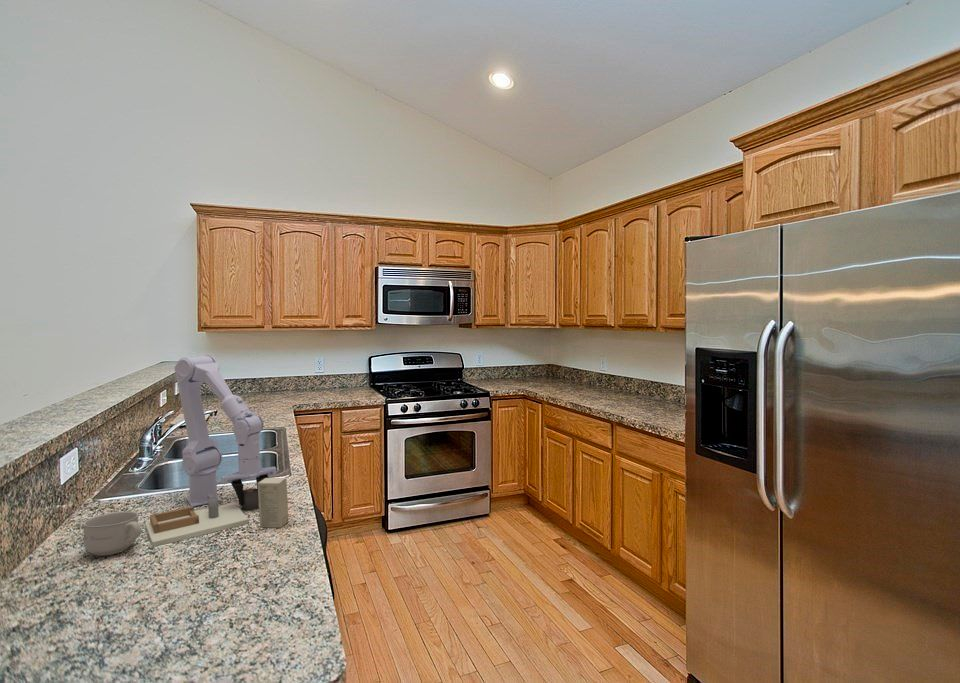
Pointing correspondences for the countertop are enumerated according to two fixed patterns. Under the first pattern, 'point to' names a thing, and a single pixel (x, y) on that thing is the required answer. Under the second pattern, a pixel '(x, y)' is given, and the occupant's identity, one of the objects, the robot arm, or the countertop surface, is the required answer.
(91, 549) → the teacup
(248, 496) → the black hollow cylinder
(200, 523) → the board
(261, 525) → the skincare box
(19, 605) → the countertop surface
